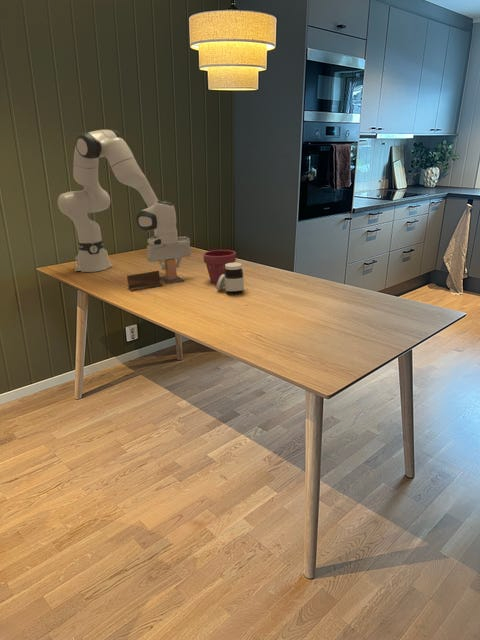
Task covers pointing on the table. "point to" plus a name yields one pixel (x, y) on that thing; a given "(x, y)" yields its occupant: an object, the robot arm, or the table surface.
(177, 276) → the charcoal mat
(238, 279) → the spread jar
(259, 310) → the table surface
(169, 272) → the terracotta block
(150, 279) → the brown wooden stand
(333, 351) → the table surface
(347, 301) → the table surface
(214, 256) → the plant pot
